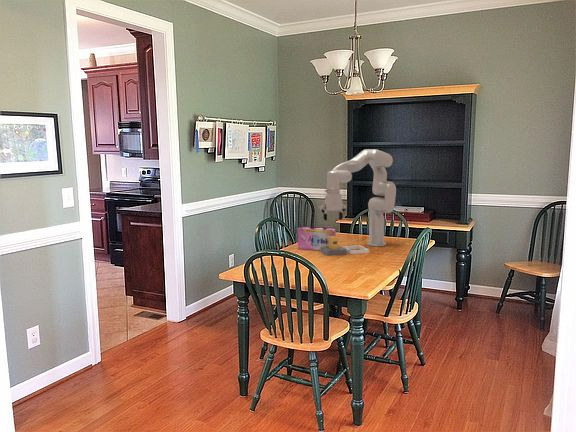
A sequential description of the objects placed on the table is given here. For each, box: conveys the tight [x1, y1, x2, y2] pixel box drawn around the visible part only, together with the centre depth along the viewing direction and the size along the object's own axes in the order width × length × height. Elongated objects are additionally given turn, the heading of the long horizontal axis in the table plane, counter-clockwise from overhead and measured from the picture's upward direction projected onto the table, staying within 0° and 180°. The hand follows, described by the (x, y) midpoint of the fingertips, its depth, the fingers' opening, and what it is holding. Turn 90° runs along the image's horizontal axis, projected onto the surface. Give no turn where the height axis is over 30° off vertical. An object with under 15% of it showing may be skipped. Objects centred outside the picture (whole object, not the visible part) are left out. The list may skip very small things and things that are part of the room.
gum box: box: [297, 225, 337, 251], centre depth 319 cm, size 24×8×14 cm, turn 68°
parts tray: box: [341, 244, 370, 255], centre depth 313 cm, size 14×12×3 cm
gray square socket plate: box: [320, 245, 347, 257], centre depth 308 cm, size 12×12×4 cm
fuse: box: [328, 235, 339, 250], centre depth 307 cm, size 4×6×10 cm, turn 16°
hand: (333, 219), depth 305 cm, fingers open, 9 cm apart
